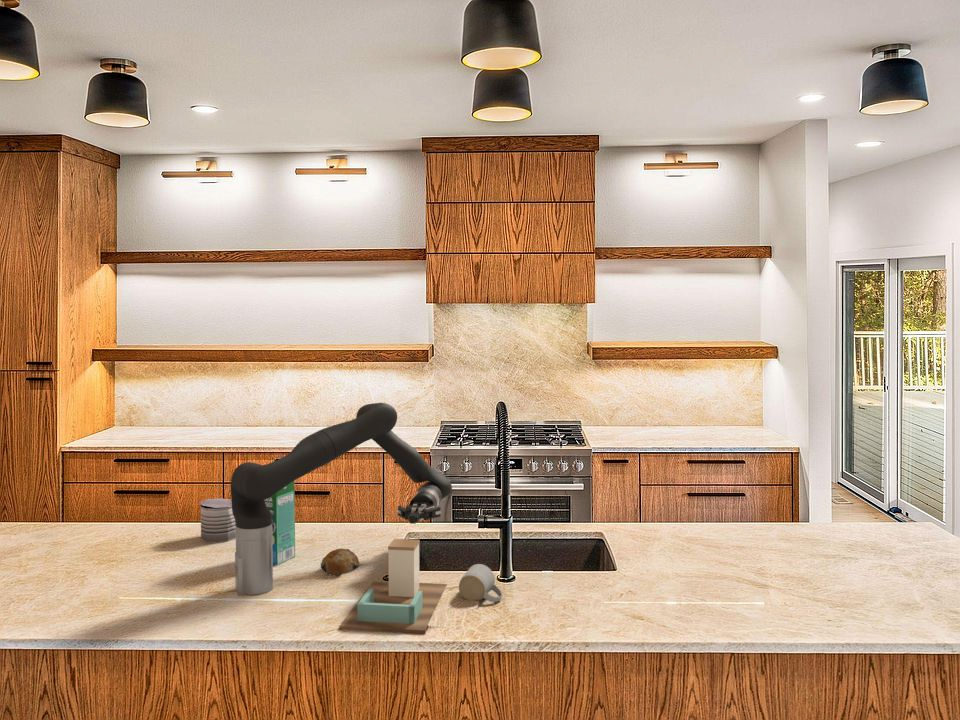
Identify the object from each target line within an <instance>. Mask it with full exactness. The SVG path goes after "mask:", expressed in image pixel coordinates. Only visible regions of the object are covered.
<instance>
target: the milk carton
mask: <svg viewBox="0 0 960 720" xmlns="http://www.w3.org/2000/svg"><path fill="white" fill-rule="evenodd" d="M264 501H265V504H266V506H267V508H268V509H269V511H270V512H271V514H272V550H273V566H274V565H277V566H279V565H281V564H283V563H285V562H287V560H288V561H289V559H290V560H291V558H292V559H293V557H294V558H295V557H296V515H295V513H296V512H295V511H296V507H295V506H296V504H295V501H296V500H295V481H293V482H291V483H290V484H288V485H287V486H286V487H284V488H283V489H281V490H280V491H278V492H277V493H275V494H274V495H272V496H271V497H269V498H267V499H265V500H264ZM278 564H279V565H278Z"/></svg>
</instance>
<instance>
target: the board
mask: <svg viewBox="0 0 960 720" xmlns="http://www.w3.org/2000/svg"><path fill="white" fill-rule="evenodd" d="M446 587H447V583H434V582H433V583H432V582H431V583H430V582H429V583H428V582H419V589H418V591H423V607H422V609H421V611H420V613H419V615H418V617H417V619H416V621H415V623H414V624H407V623H388V622H369V621H358V611H357V604H358V603H359V601H360V600H361V599H362V597H363V596H364V595H365V593H366V592H367V591H368V589H374V603H385V604H406V605H410V604H411V602H412V600H413V598H414V597H400V596H389V580H388V581H387V580H373V581H372V582H371V583H370V585H368V587H367V589H365V592H364V593H363V594H362V595H361V597H360V598H359V599H358V601H356V604H354V606H353V608H351V610H350V611H349V612H348V614H347V615H346V617H345V618H344V619H343V621H342V622H341V623H340V625H339V630H344V631H345V630H347V631H362V632H363V631H366V632H383V633H385V632H386V633H402V634H420V635H426V633H427V631H428V629H429V627H430V625H429V623H430V621H431V620H432V617H433V615H434V613H435V611H436V608H437V606H438V604H439V602H440V600H441V598H442V595H443V594H444V592H445V589H446Z"/></svg>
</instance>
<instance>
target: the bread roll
mask: <svg viewBox="0 0 960 720" xmlns="http://www.w3.org/2000/svg"><path fill="white" fill-rule="evenodd" d="M359 563H360V562H359V557H358V556H357V555H356V553H355V552H353V551H352V550H350V549H348V548H336V549H333V550H331V551H330V552H328V553H327V554H326V556H324V557H323V558H322V560H321V562H320V569H321V570H323V573H324V572H325V573H324V574H326V573H327V575H329V574H331V575H330V576H333V575H335V576H339V575H341V576H342V575H343V574H344V573H345V574H347V573H351V572H353V571H355V570H356V569H358V568H359Z"/></svg>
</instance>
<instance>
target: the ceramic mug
mask: <svg viewBox="0 0 960 720" xmlns="http://www.w3.org/2000/svg"><path fill="white" fill-rule="evenodd" d="M495 578H496V577H495V574H494V572H493V571H492V569H491V568H490V567H488V566H487V565H485V564H481V563H477V564H473V565H471V566H470V567H469V568H468V570H467V571H466V572H465V573H464V574H463V576H462V577H461V579H460V581H459V584H458V591H459V593H460V595H461V597H462V598H463V599H465V600H468V601H475V602H477V601H481V600H483V599H485V600H486V601H488V602H491V603H499V602H500V601H501V600H502V597H503V592H502V590H501V589H500V588H499V587H498V586H497V585H495V581H496V579H495ZM491 591H493V593H495V594H496V595H497V596H492V595H490V594H489V593H490V592H491ZM498 601H499V602H498Z"/></svg>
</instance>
